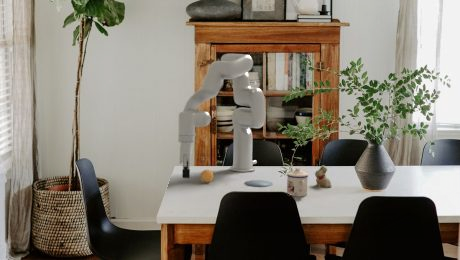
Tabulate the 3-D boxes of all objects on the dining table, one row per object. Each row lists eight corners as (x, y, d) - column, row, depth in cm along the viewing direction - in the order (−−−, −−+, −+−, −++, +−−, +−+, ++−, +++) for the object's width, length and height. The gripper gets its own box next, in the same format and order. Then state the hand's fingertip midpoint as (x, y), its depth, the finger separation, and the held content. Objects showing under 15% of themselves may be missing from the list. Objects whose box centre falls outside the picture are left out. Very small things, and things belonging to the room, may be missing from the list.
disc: (255, 179, 329) (255, 178, 329) (278, 183, 321) (278, 182, 321) (238, 183, 318) (239, 183, 318) (262, 188, 311) (262, 187, 310)
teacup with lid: (283, 192, 303) (283, 166, 301) (302, 191, 305) (303, 165, 304) (294, 199, 291) (294, 171, 290) (313, 197, 294) (314, 170, 292)
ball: (206, 180, 324) (206, 167, 324) (216, 182, 321) (216, 169, 320) (197, 182, 320) (197, 169, 319) (207, 184, 316) (207, 171, 315)
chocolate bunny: (324, 183, 322) (324, 162, 320) (332, 187, 314) (333, 165, 313) (313, 184, 320) (314, 163, 318) (322, 188, 312) (323, 166, 311)
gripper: (180, 136, 325) (179, 174, 327) (176, 140, 310) (176, 180, 313) (196, 136, 325) (195, 174, 327) (193, 141, 310) (192, 181, 312)
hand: (186, 177), depth 320 cm, fingers closed
